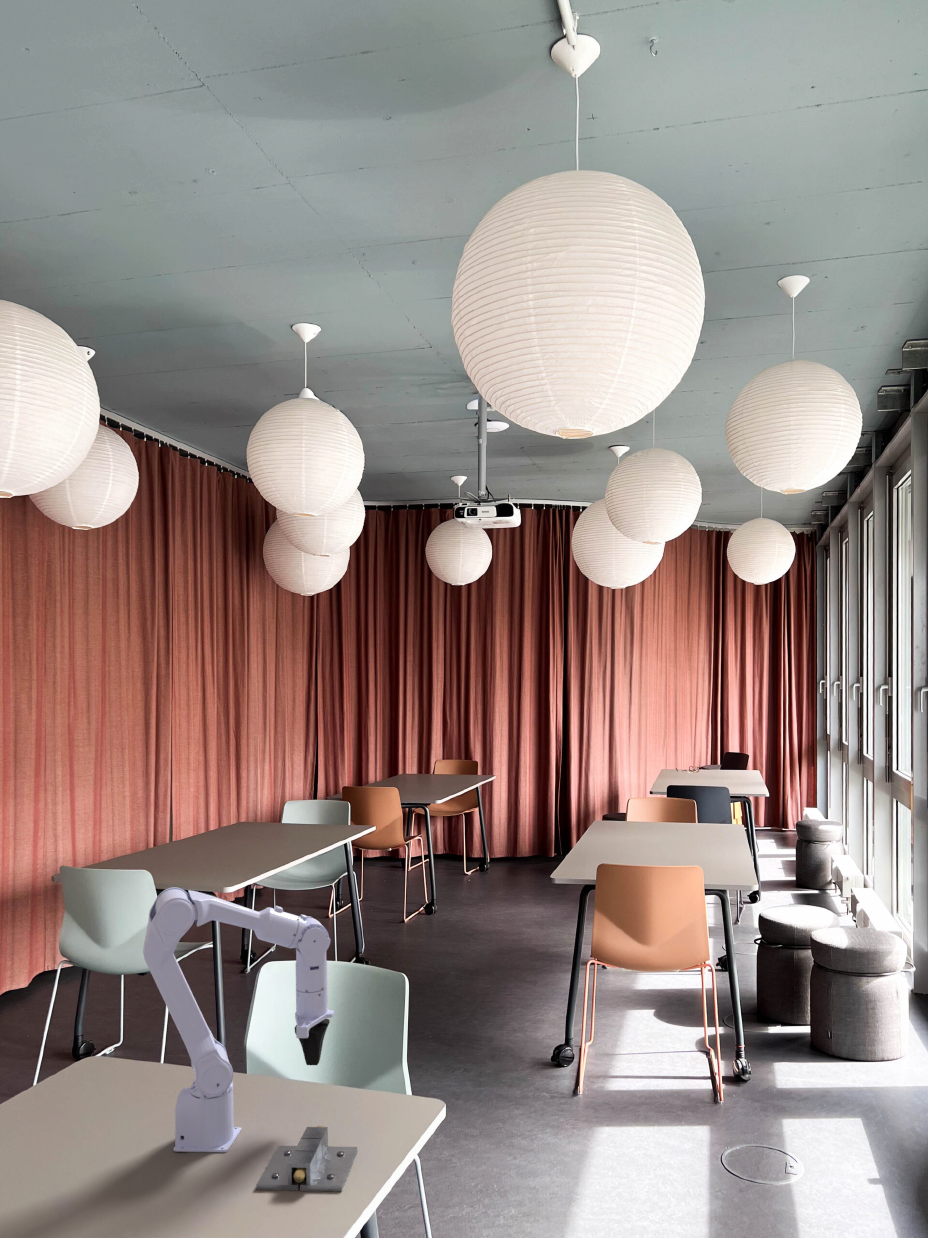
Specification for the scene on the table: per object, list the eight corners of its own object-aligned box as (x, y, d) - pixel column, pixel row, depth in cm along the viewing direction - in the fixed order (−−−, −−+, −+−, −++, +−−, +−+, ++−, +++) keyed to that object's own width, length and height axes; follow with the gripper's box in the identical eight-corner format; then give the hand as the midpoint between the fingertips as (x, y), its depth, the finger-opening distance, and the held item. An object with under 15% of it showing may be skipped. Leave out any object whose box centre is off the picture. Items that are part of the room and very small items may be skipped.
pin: (291, 1185, 144) (290, 1168, 144) (312, 1141, 158) (312, 1125, 158) (307, 1185, 144) (307, 1168, 144) (327, 1141, 158) (327, 1126, 158)
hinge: (256, 1189, 145) (256, 1163, 145) (278, 1150, 156) (278, 1126, 157) (341, 1191, 143) (341, 1165, 144) (357, 1152, 155) (356, 1127, 156)
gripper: (323, 1001, 161) (324, 1081, 160) (341, 975, 175) (343, 1048, 175) (284, 1001, 162) (285, 1081, 161) (305, 974, 176) (306, 1047, 175)
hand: (312, 1064), depth 168 cm, fingers closed
